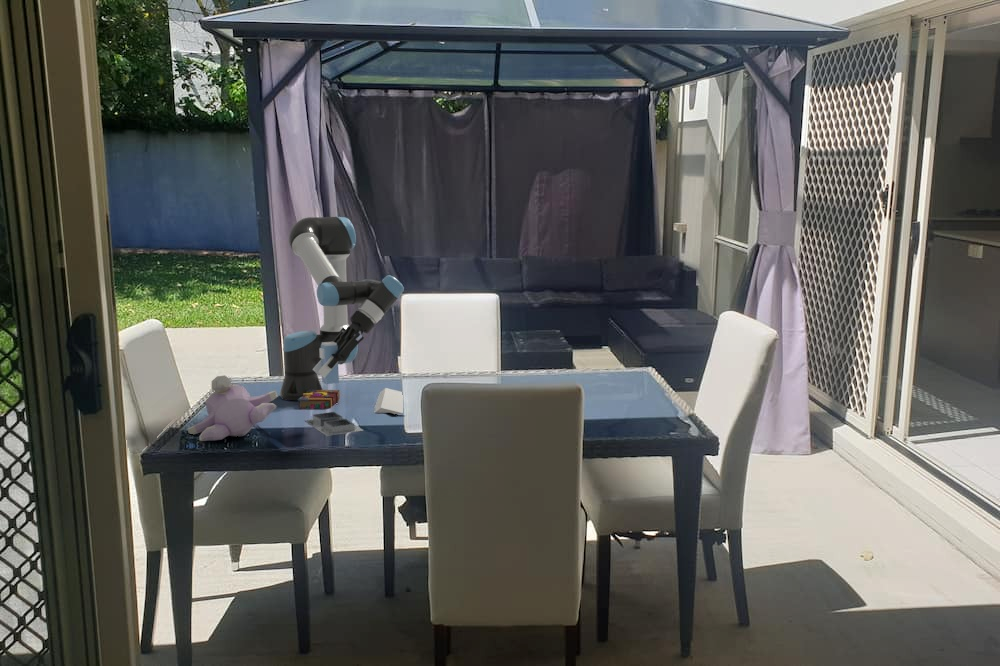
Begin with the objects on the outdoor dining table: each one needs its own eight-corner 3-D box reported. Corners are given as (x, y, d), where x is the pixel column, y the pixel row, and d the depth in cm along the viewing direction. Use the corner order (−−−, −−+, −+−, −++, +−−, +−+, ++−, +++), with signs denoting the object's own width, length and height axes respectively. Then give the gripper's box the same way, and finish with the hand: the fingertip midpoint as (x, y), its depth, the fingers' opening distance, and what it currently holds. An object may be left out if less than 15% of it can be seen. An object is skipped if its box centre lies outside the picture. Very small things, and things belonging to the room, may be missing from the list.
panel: (304, 424, 280) (304, 414, 280) (339, 419, 286) (339, 409, 286) (326, 439, 263) (326, 429, 263) (363, 433, 270) (363, 423, 269)
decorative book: (340, 401, 311) (340, 388, 310) (330, 413, 295) (330, 398, 294) (308, 401, 311) (308, 387, 311) (297, 412, 296) (297, 398, 295)
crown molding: (406, 417, 291) (405, 407, 291) (369, 418, 290) (369, 407, 290) (408, 397, 320) (407, 387, 319) (374, 397, 319) (374, 388, 318)
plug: (319, 382, 274) (318, 342, 272) (334, 380, 277) (332, 341, 275) (324, 384, 271) (322, 344, 269) (338, 382, 273) (337, 343, 271)
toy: (191, 435, 283) (201, 466, 256) (169, 388, 277) (177, 415, 250) (275, 398, 292) (293, 424, 265) (256, 352, 286) (272, 374, 260)
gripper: (385, 328, 272) (336, 386, 266) (363, 321, 286) (317, 376, 280) (369, 312, 268) (319, 370, 262) (348, 306, 283) (300, 361, 277)
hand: (318, 373), depth 271 cm, fingers closed on plug, 4 cm apart
